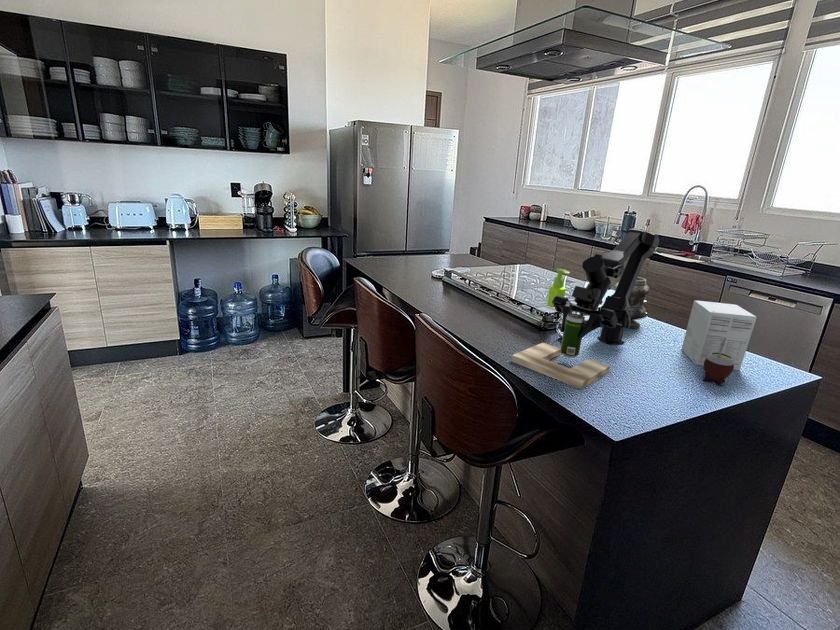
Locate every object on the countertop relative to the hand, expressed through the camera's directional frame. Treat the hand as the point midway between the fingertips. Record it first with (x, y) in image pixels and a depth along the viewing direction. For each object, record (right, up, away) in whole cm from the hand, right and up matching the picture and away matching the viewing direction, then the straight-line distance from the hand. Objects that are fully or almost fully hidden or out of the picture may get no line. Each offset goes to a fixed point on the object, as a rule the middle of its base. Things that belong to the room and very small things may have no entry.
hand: (570, 334), depth 133 cm
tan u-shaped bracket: (-3, -9, +1) cm, 10 cm away
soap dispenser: (+7, +3, +41) cm, 42 cm away
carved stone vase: (+35, +2, +43) cm, 55 cm away
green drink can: (0, -6, +3) cm, 7 cm away
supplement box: (+49, -9, +14) cm, 52 cm away
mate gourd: (+40, -14, -2) cm, 43 cm away
